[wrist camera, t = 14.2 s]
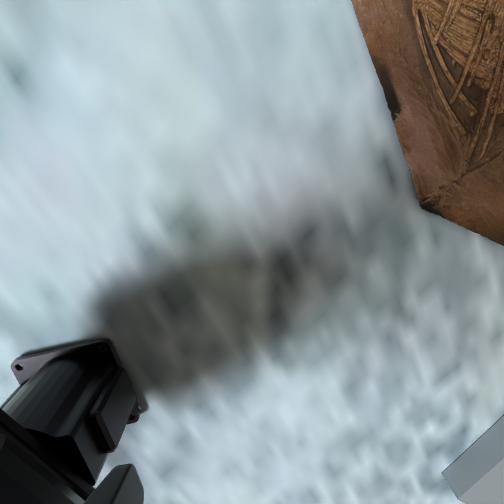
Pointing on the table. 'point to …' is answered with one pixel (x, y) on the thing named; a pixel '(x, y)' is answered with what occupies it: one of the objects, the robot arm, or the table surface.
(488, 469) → the slate ledge
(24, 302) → the table surface
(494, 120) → the wooden fragment
